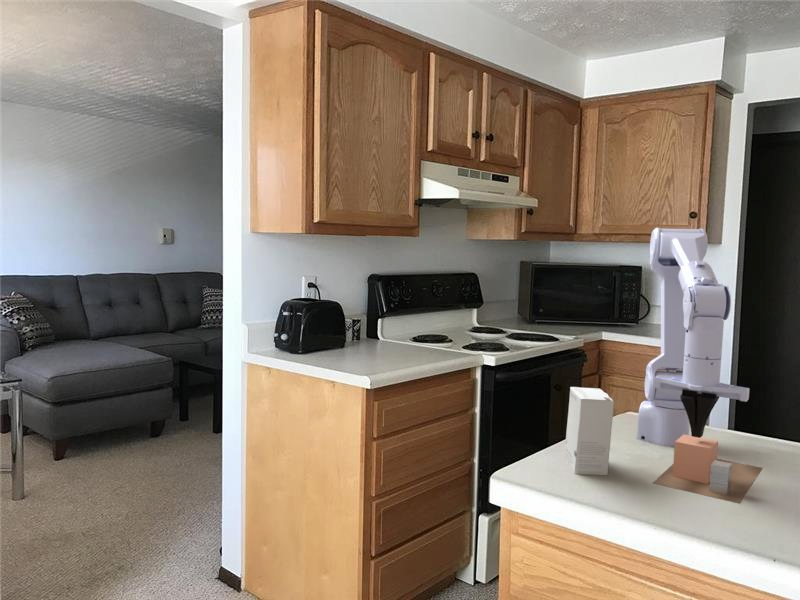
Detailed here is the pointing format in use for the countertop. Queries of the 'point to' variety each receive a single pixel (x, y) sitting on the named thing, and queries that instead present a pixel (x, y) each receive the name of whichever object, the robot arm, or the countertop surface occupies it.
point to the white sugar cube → (720, 477)
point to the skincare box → (588, 431)
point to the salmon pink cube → (694, 458)
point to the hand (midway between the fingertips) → (697, 435)
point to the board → (739, 482)
